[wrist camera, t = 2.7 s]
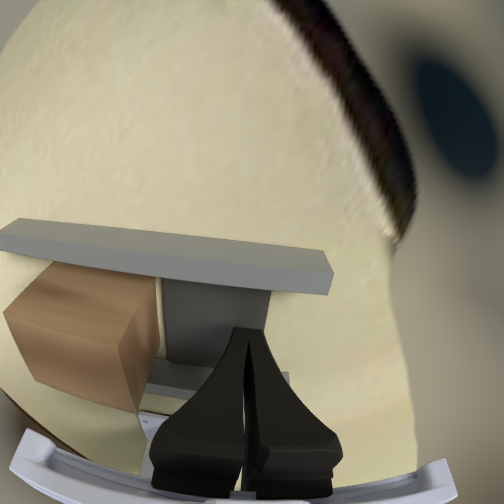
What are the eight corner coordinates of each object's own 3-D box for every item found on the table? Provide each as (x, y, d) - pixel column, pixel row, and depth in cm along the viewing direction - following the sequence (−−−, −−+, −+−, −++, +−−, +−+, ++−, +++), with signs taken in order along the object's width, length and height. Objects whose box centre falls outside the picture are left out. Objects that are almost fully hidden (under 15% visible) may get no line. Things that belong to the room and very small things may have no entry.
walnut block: (160, 342, 15) (136, 413, 11) (72, 323, 15) (35, 380, 10) (155, 274, 13) (116, 346, 9) (56, 259, 13) (2, 312, 9)
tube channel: (285, 382, 16) (287, 408, 15) (51, 341, 16) (38, 360, 14) (323, 250, 13) (334, 273, 11) (18, 218, 12) (-4, 232, 10)
